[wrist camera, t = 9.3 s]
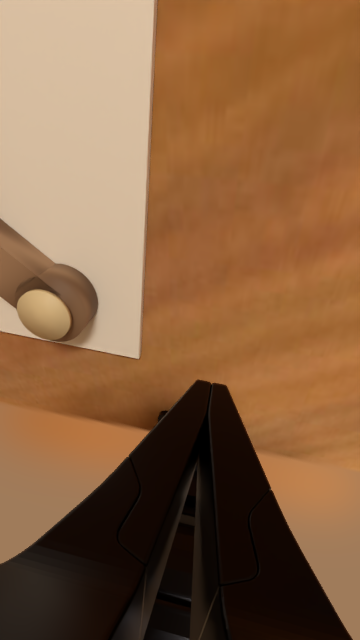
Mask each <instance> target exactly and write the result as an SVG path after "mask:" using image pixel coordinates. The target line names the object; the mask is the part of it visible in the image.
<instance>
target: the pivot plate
mask: <svg viewBox="0 0 360 640" xmlns="http://www.w3.org/2000/svg"><path fill="white" fill-rule="evenodd" d="M156 21H157V0H0V219H2V220H3V221H4V222H5V223H6V224H8V225H9V226H10V227H11V228H13V229H14V230H15V231H16V232H18V233H19V234H20V235H21V236H22V237H24V238H25V239H26V240H27V241H29V242H30V243H31V244H32V245H33V246H35V247H36V248H37V249H38V250H40V251H41V252H42V253H43V254H45V255H46V256H47V257H48V258H49V259H51V260H52V261H53V262H54V263H57V264H65V265H68V266H71V267H73V268H75V269H77V270H78V271H80V272H81V273H83V274H84V275H85V276H86V277H87V278H88V279H89V281H90V282H91V283H92V285H93V287H94V289H95V291H96V294H97V298H98V308H97V312H96V314H95V315H94V317H93V318H92V319H91V321H90V322H89V323H88V324H87V325H86V327H85V328H84V329H83V330H82V332H81V333H80V334H79V335H78V336H77V337H75V338H74V339H72V340H69V341H65V342H57V343H62V344H67V345H72V346H77V347H82V348H87V349H92V350H97V351H102V352H107V353H112V354H117V355H122V356H127V357H132V358H136V359H139V358H140V356H141V343H142V321H143V300H144V278H145V257H146V236H147V214H148V193H149V171H150V150H151V128H152V107H153V85H154V64H155V42H156ZM71 324H72V318H71V314H70V311H69V309H68V307H67V306H66V304H65V303H64V302H63V301H62V300H61V299H60V298H59V297H58V296H56V295H55V294H53V293H51V292H49V291H46V290H42V289H34V290H30V291H28V292H26V293H25V294H24V295H22V296H21V297H20V299H19V300H18V303H17V310H16V308H14V307H13V306H12V305H10V304H9V303H8V302H6V301H5V300H4V299H3V298H1V297H0V331H2V332H7V333H12V334H17V335H22V336H27V337H32V338H37V339H42V340H47V341H51V340H56V339H60V338H62V337H63V336H64V335H65V334H66V333H67V332H68V331H69V329H70V328H71ZM52 342H56V341H52Z"/></svg>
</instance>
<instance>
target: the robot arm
mask: <svg viewBox="0 0 360 640" xmlns="http://www.w3.org/2000/svg"><path fill="white" fill-rule="evenodd" d="M0 640H353V639H352V638H351V636H350V635H349V633H348V632H347V630H346V628H345V627H344V625H343V623H342V622H341V620H340V618H339V616H338V615H337V613H336V612H335V609H334V607H333V606H332V604H331V602H330V600H329V599H328V597H327V595H326V593H325V592H324V590H323V588H322V586H321V584H320V583H319V581H318V579H317V577H316V576H315V574H314V572H313V570H312V569H311V567H310V565H309V563H308V561H307V560H306V558H305V556H304V554H303V553H302V551H301V549H300V547H299V545H298V543H297V541H296V539H295V538H294V536H293V534H292V532H291V530H290V528H289V526H288V524H287V522H286V520H285V518H284V516H283V514H282V511H281V509H280V507H279V505H278V503H277V500H276V498H275V496H274V493H273V491H272V490H271V487H270V484H269V482H268V480H267V477H266V475H265V473H264V471H263V468H262V466H261V464H260V461H259V459H258V457H257V454H256V452H255V450H254V448H253V445H252V443H251V441H250V438H249V436H248V434H247V431H246V429H245V427H244V425H243V422H242V420H241V418H240V415H239V413H238V411H237V408H236V406H235V404H234V402H233V399H232V397H231V395H230V392H229V390H228V388H227V386H226V385H223V384H218V383H212V385H211V383H210V382H208V381H203V380H197V381H195V383H194V384H193V385H192V386H191V387H190V388H189V389H188V390H187V391H186V392H185V394H184V395H183V396H182V397H181V398H180V399H179V400H178V401H177V402H176V404H175V405H174V406H173V407H172V408H171V409H170V410H169V411H161V412H160V414H159V417H158V423H157V425H156V426H155V427H154V428H153V429H152V430H151V431H150V432H149V433H148V435H147V436H146V437H145V438H144V439H143V440H142V441H141V442H140V444H139V445H138V446H137V447H136V448H135V449H134V450H133V451H132V452H131V453H130V454H129V457H127V458H126V459H125V460H124V461H123V462H122V463H121V464H120V465H119V466H118V467H117V469H116V470H115V471H114V472H113V473H112V474H111V475H110V476H109V477H108V478H107V479H106V480H105V481H104V482H103V483H102V484H101V485H100V486H99V487H98V488H96V489H95V490H94V491H93V492H92V493H91V494H90V495H89V496H88V497H87V498H85V499H84V500H83V501H82V502H81V503H80V504H79V505H77V507H75V508H74V509H73V510H72V511H71V512H69V513H68V514H67V515H66V516H65V517H64V518H63V519H61V520H60V521H59V522H58V523H57V524H56V525H54V526H53V527H52V528H51V529H50V530H49V531H47V532H46V533H45V534H44V535H43V536H42V537H41V538H39V539H38V540H37V541H36V542H35V543H33V544H32V545H31V546H29V547H28V548H27V549H25V550H24V551H23V552H21V553H19V554H18V555H16V556H15V557H13V558H11V559H9V560H8V561H6V562H4V563H2V564H0Z"/></svg>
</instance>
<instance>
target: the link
mask: <svg viewBox="0 0 360 640" xmlns="http://www.w3.org/2000/svg"><path fill="white" fill-rule="evenodd" d="M34 289H42V290H46V291H49V292H51V293H53V294H55V295H56V296H58V297H59V298H60V299H61V300H62V301H63V302H64V303H65V304H66V306H67V307H68V309H69V311H70V314H71V318H72V324H71V328H70V329H69V331H68V332H67V333H66V334H65V335H64V336H63V337H62V338H60V339H56V340H51V341H56V342H65V341H69V340H72V339H74V338H75V337H77V336H78V335H79V334H80V333H81V332H82V330H83V329H84V328H85V327H86V325H87V324H88V323H89V322H90V321H91V319H92V318H93V317H94V315H95V314H96V312H97V308H98V298H97V294H96V291H95V289H94V287H93V285H92V283H91V282H90V281H89V279H88V278H87V277H86V276H85V275H84V274H83V273H81V272H80V271H78V270H77V269H75V268H73V267H71V266H68V265H65V264H57V263H54V262H53V261H52V260H51V259H49V258H48V257H47V256H46V255H45V254H43V253H42V252H41V251H40V250H38V249H37V248H36V247H35V246H33V245H32V244H31V243H30V242H29V241H27V240H26V239H25V238H24V237H22V236H21V235H20V234H19V233H18V232H16V231H15V230H14V229H13V228H11V227H10V226H9V225H8V224H6V223H5V222H4V221H3V220H2V219H0V297H1V298H3V299H4V300H5V301H6V302H8V303H9V304H10V305H12V306H13V307H14V308H16V310H17V303H18V300H19V299H20V297H21V296H22V295H24V294H25V293H26V292H28V291H30V290H34Z"/></svg>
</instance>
